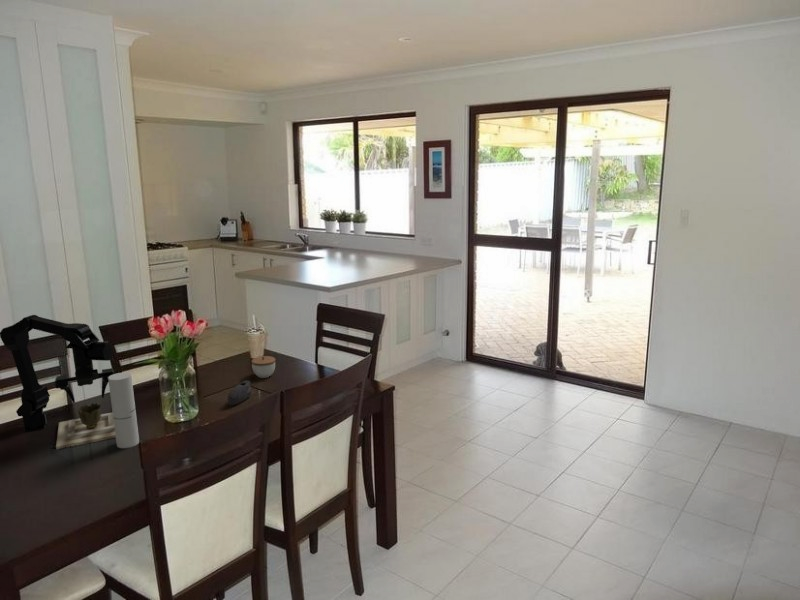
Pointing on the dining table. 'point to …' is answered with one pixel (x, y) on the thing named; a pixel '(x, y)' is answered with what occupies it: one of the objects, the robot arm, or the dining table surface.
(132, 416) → the cylindrical container
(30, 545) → the dining table surface
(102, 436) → the docking plate
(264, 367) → the lidded jar
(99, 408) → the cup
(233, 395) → the perforated stone tool
